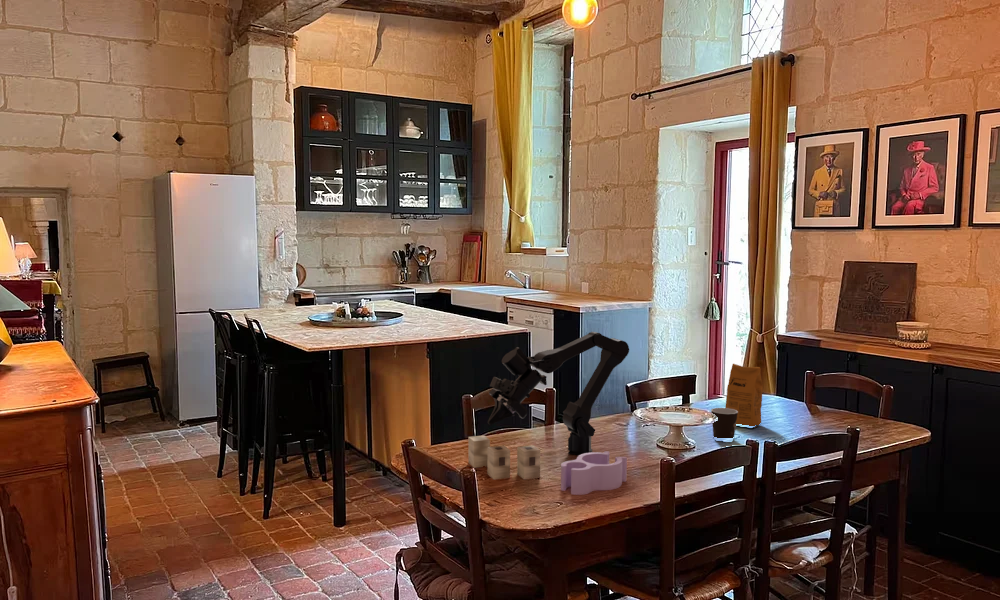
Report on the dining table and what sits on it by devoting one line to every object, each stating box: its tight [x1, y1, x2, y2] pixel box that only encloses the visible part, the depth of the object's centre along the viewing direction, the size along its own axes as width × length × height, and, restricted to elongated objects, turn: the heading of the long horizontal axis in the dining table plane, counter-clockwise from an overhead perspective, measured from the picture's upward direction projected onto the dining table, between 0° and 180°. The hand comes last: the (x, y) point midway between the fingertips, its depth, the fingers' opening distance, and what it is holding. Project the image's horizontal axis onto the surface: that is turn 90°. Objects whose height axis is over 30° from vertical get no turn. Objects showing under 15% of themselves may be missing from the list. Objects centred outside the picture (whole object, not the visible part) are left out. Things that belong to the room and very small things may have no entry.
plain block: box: [467, 435, 491, 469], centre depth 222 cm, size 5×5×8 cm
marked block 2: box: [516, 444, 541, 480], centre depth 212 cm, size 5×5×8 cm
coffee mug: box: [710, 407, 738, 438], centre depth 251 cm, size 12×9×10 cm
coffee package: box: [724, 363, 764, 426], centre depth 269 cm, size 10×12×22 cm
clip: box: [560, 450, 628, 496], centre depth 205 cm, size 20×12×7 cm, turn 129°
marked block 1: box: [486, 445, 511, 480], centre depth 212 cm, size 5×5×8 cm
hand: (488, 423), depth 223 cm, fingers closed
